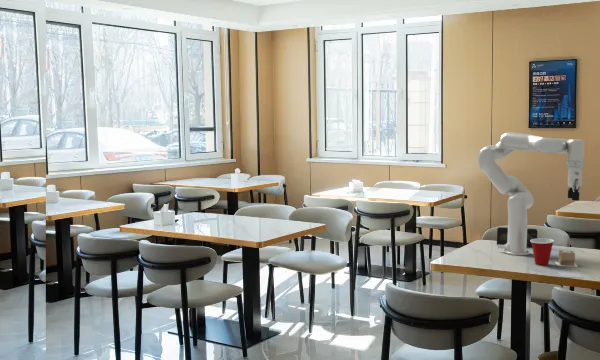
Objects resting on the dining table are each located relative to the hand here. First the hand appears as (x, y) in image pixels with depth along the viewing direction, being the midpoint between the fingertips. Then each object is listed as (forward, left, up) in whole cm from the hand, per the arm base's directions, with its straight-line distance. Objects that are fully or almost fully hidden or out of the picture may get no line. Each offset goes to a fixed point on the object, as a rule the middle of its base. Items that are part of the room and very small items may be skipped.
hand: (573, 199), depth 320 cm
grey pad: (-7, -35, -30) cm, 47 cm away
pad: (-4, -11, -30) cm, 32 cm away
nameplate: (-21, +34, -31) cm, 50 cm away
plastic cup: (-16, -14, -31) cm, 37 cm away
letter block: (-4, -11, -30) cm, 32 cm away
